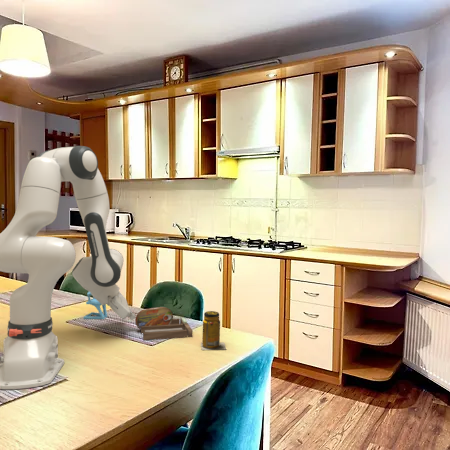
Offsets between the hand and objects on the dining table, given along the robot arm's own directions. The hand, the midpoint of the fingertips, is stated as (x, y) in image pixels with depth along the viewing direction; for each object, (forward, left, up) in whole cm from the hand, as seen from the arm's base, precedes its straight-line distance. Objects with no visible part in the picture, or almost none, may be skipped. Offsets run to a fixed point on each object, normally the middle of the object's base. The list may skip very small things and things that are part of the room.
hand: (133, 317), depth 162 cm
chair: (+21, +14, -5) cm, 25 cm away
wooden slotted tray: (-4, -10, -5) cm, 12 cm away
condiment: (-23, -25, -5) cm, 35 cm away
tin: (0, -8, -5) cm, 9 cm away
